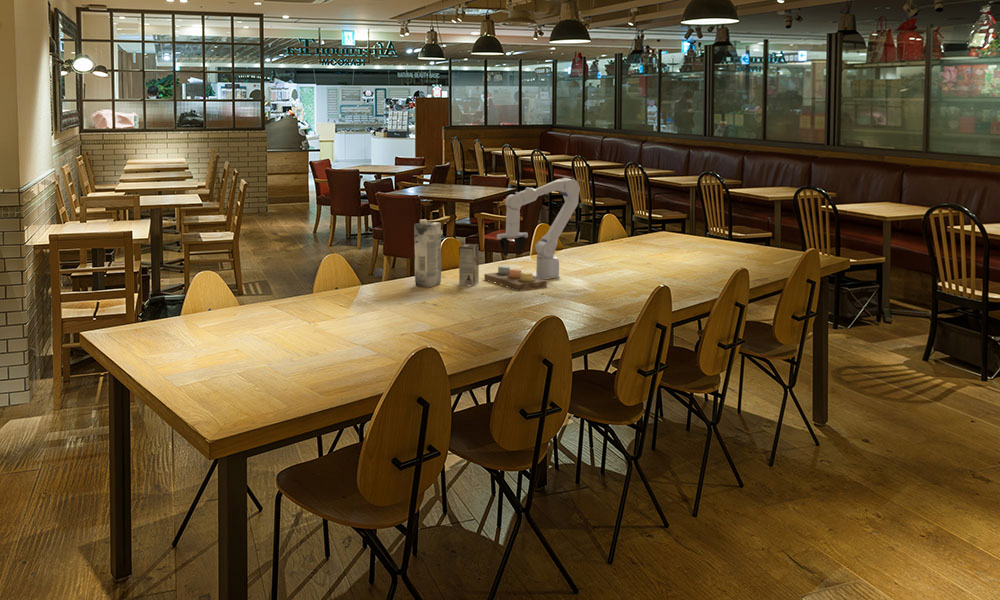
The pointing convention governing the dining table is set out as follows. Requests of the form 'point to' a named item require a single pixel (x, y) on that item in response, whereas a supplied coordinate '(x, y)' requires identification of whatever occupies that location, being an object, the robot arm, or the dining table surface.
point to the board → (515, 281)
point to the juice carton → (427, 253)
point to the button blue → (503, 270)
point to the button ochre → (526, 277)
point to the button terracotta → (514, 273)
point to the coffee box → (469, 264)
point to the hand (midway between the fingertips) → (511, 255)
